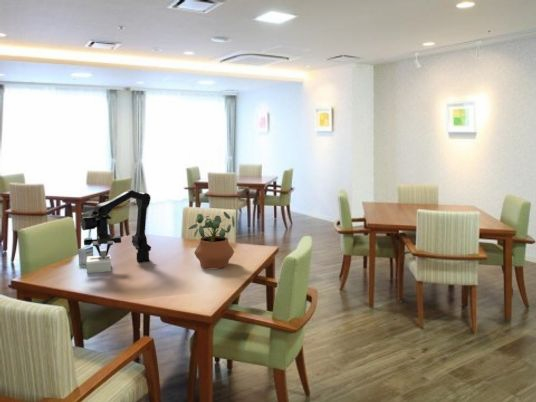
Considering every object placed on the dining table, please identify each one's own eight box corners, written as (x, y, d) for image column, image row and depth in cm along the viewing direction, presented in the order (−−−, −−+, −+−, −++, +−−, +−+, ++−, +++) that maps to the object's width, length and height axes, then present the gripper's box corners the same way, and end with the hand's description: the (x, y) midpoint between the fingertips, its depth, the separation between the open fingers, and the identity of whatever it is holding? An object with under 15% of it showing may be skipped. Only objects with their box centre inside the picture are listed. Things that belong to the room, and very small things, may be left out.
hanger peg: (108, 262, 246) (107, 248, 245) (108, 265, 241) (107, 250, 240) (99, 263, 245) (98, 248, 244) (99, 265, 239) (98, 251, 238)
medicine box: (85, 264, 251) (85, 249, 249) (78, 264, 252) (77, 249, 250) (93, 261, 258) (93, 246, 257) (87, 260, 259) (86, 245, 258)
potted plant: (215, 273, 236) (215, 217, 232) (177, 264, 252) (176, 212, 247) (242, 263, 255) (242, 211, 250) (205, 256, 270) (204, 207, 266)
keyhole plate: (110, 265, 250) (110, 254, 249) (111, 271, 239) (110, 260, 238) (87, 267, 246) (87, 256, 245) (86, 273, 235) (86, 262, 234)
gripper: (82, 231, 229) (84, 261, 232) (121, 229, 236) (122, 258, 238) (83, 227, 240) (85, 256, 242) (120, 225, 246) (121, 253, 248)
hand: (103, 256), depth 242 cm, fingers closed on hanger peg, 3 cm apart
